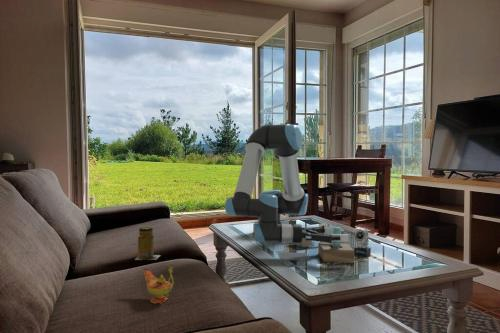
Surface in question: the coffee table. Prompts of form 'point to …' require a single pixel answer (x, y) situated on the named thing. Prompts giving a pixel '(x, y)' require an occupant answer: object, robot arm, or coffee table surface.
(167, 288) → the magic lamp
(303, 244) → the ceramic mug
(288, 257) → the mat
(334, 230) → the dowel
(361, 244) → the watch
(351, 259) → the socket block
